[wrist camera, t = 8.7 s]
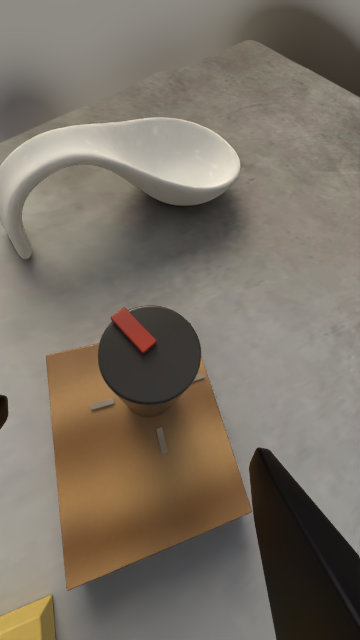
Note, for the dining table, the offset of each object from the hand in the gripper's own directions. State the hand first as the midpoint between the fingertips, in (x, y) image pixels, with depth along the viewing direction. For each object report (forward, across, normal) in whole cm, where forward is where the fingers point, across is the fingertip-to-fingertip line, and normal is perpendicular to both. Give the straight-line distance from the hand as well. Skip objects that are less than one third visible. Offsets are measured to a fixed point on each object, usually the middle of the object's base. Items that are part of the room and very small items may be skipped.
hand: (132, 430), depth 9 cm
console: (+7, 0, +6) cm, 9 cm away
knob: (+6, 0, +3) cm, 7 cm away
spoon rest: (+21, +6, -8) cm, 24 cm away
